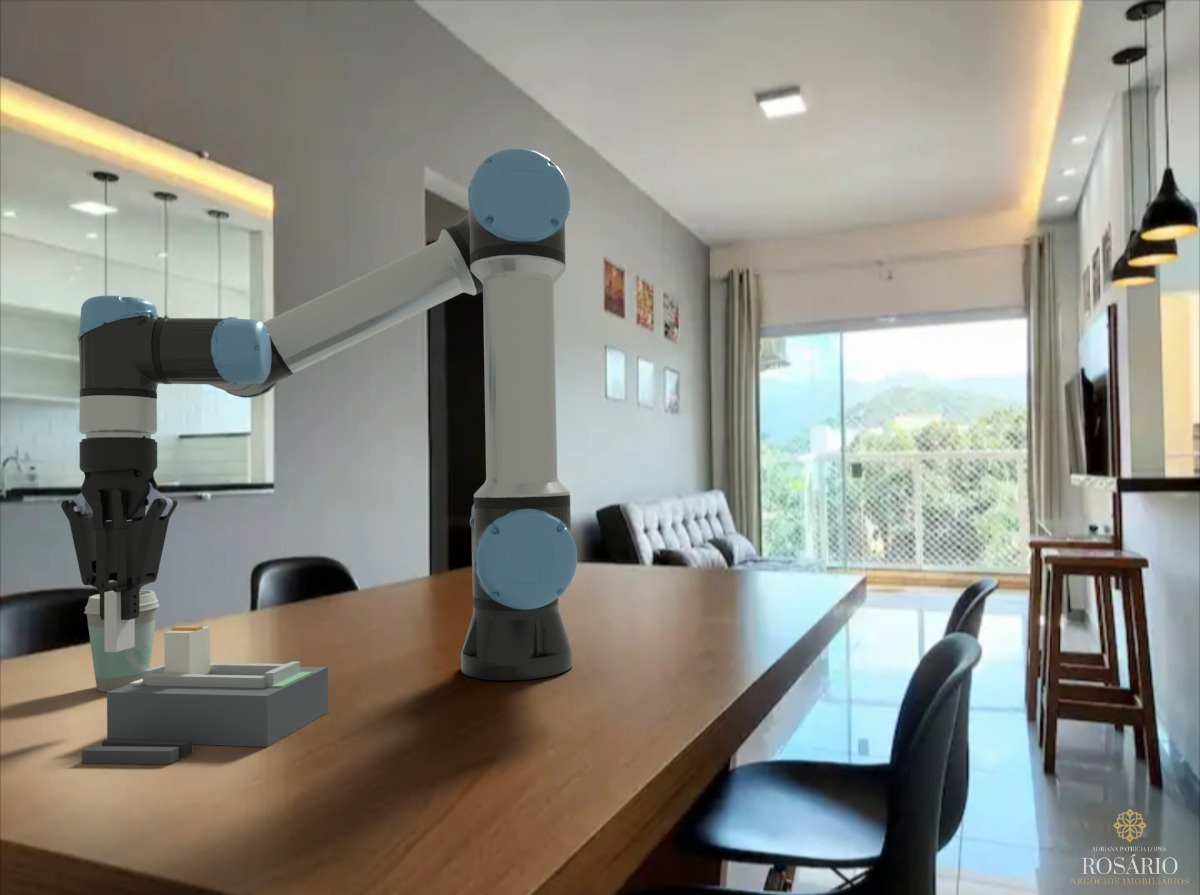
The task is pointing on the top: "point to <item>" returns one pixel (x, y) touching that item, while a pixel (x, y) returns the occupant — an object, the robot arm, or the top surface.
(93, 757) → the dark gray bar
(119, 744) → the dark grey long bar
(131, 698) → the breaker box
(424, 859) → the top surface
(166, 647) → the white upright block
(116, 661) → the coffee cup
